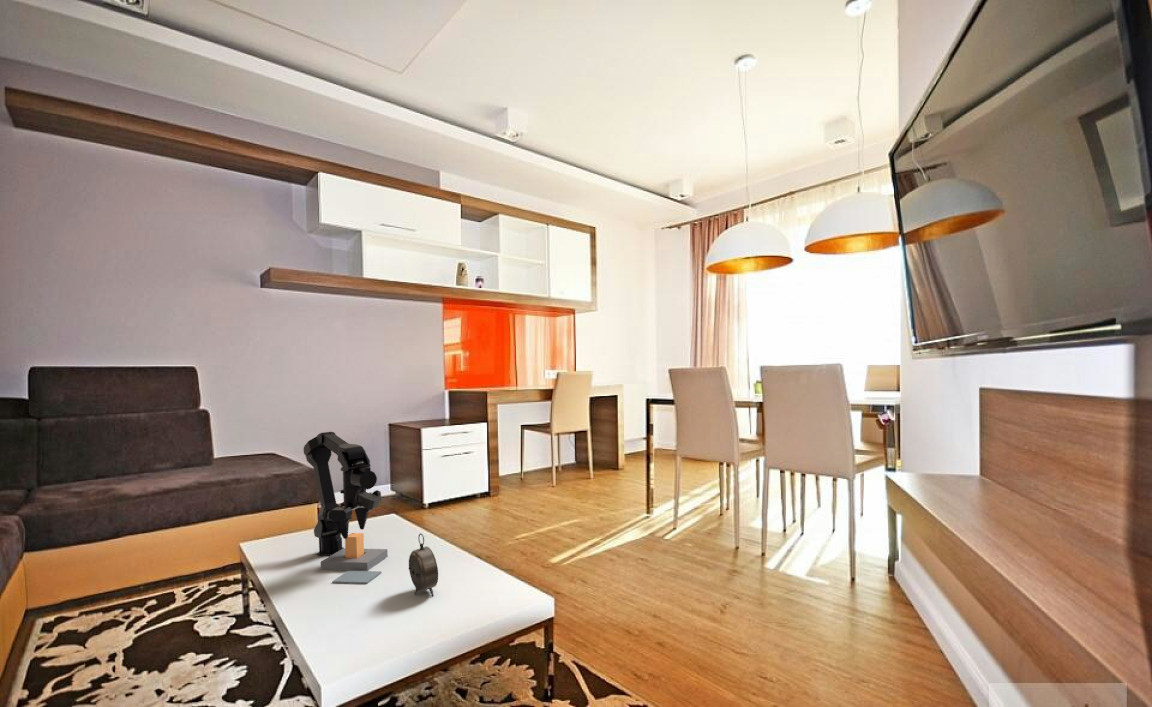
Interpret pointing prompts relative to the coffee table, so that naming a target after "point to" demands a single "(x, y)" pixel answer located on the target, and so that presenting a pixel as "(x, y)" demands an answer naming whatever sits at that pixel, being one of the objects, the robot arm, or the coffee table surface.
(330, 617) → the coffee table surface
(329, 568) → the holder
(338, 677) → the coffee table surface
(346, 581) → the mat
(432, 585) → the alarm clock
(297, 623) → the coffee table surface
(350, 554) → the orange block
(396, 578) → the coffee table surface
